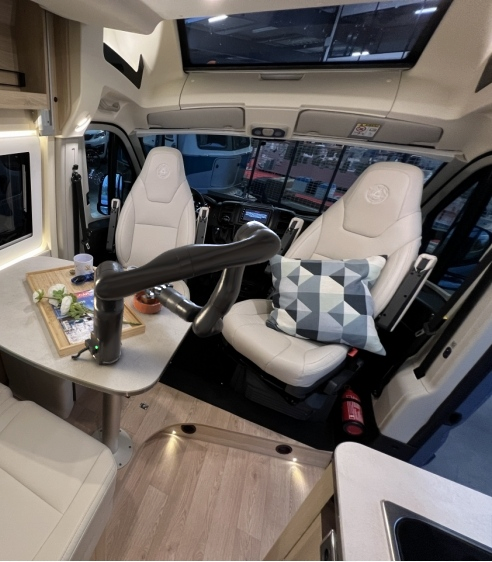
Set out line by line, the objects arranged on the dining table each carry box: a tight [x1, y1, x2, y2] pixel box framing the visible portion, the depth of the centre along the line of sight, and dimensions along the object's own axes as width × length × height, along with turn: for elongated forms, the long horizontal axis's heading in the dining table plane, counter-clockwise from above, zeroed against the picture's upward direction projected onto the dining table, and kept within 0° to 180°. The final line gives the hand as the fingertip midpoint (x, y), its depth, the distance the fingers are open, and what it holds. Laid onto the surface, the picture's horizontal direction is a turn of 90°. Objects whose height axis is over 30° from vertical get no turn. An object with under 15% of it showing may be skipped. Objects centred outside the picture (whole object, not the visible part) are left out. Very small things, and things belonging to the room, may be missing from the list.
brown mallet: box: [141, 295, 156, 305], centre depth 119 cm, size 5×4×14 cm
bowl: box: [132, 291, 163, 315], centre depth 122 cm, size 12×12×4 cm
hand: (146, 281), depth 120 cm, fingers closed on brown mallet, 2 cm apart
